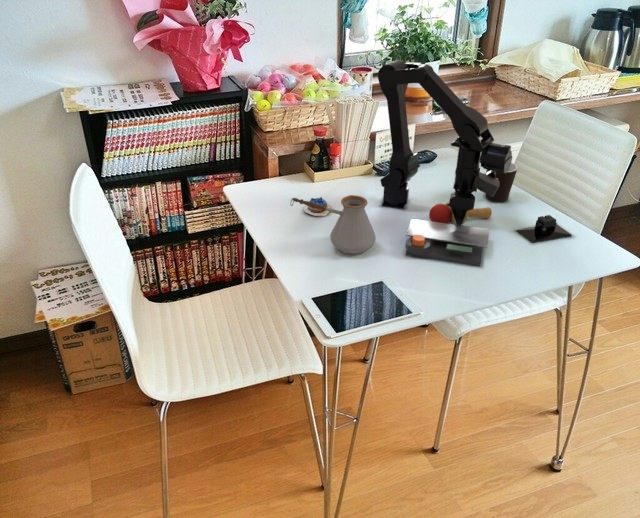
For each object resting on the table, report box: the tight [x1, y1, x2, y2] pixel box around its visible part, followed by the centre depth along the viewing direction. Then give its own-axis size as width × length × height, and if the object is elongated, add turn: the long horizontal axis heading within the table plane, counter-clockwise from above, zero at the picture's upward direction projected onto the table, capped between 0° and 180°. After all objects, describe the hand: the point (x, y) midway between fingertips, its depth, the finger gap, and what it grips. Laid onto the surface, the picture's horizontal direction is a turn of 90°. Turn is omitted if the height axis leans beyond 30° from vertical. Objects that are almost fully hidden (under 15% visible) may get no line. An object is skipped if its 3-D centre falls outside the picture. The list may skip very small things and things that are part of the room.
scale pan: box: [405, 218, 490, 248], centre depth 150 cm, size 20×9×1 cm, turn 73°
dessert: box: [303, 196, 331, 217], centre depth 167 cm, size 8×7×6 cm
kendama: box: [428, 201, 493, 225], centre depth 161 cm, size 8×6×18 cm
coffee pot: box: [289, 194, 377, 255], centre depth 145 cm, size 21×12×15 cm, turn 101°
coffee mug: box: [484, 162, 519, 203], centre depth 173 cm, size 12×9×10 cm
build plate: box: [516, 214, 573, 244], centre depth 155 cm, size 12×7×5 cm, turn 109°
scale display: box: [446, 244, 472, 253], centre depth 144 cm, size 6×2×1 cm, turn 73°
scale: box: [404, 237, 484, 267], centre depth 149 cm, size 18×15×3 cm
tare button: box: [412, 235, 425, 246], centre depth 146 cm, size 3×3×2 cm
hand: (460, 218), depth 161 cm, fingers closed on kendama, 8 cm apart
